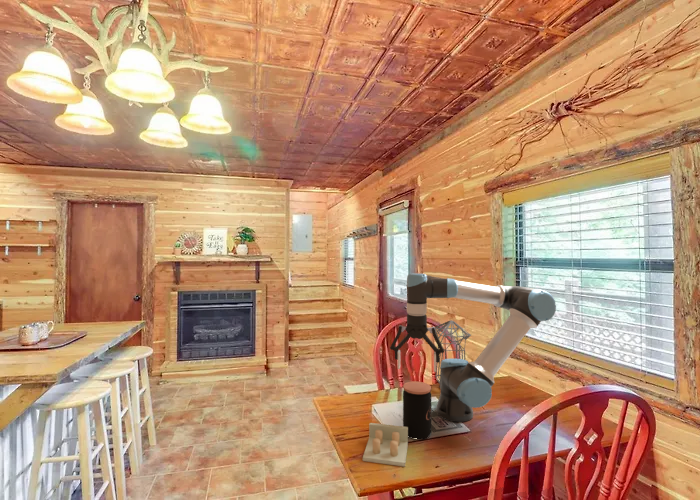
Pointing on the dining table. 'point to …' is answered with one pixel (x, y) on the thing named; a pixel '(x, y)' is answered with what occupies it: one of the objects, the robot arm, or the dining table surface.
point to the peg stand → (387, 444)
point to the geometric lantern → (450, 340)
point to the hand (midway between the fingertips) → (416, 369)
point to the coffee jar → (417, 409)
